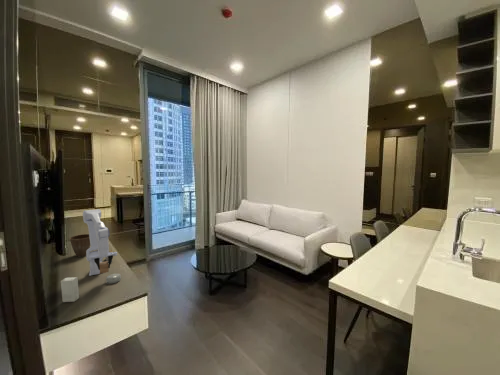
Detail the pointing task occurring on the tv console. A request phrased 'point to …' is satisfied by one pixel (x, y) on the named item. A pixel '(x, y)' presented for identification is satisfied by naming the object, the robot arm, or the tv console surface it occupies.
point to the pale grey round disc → (113, 278)
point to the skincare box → (70, 289)
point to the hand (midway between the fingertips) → (104, 268)
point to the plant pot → (80, 244)
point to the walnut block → (104, 267)
